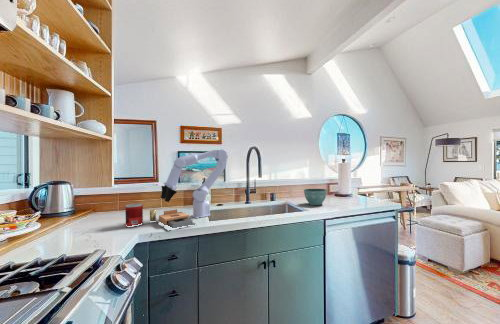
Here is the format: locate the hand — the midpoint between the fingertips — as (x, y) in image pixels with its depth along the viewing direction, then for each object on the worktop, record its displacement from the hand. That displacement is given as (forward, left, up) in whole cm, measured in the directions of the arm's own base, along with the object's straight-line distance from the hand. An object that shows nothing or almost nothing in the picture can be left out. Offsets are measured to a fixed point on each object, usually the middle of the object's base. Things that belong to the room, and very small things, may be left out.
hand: (164, 200), depth 120 cm
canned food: (+15, -1, -12) cm, 19 cm away
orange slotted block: (-2, +9, -10) cm, 14 cm away
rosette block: (-2, +13, -12) cm, 17 cm away
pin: (+6, -1, -12) cm, 13 cm away
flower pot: (-98, +33, -12) cm, 104 cm away
